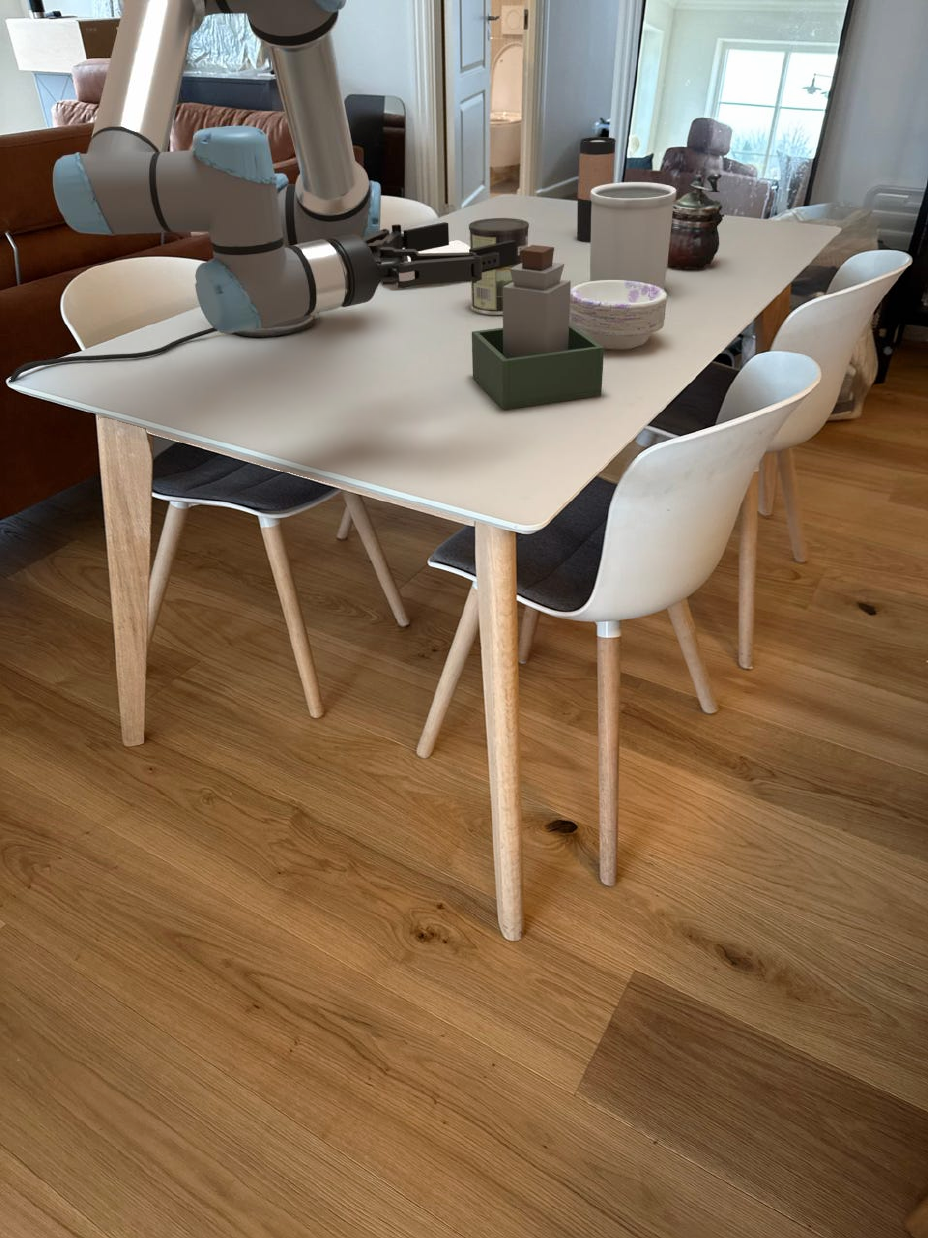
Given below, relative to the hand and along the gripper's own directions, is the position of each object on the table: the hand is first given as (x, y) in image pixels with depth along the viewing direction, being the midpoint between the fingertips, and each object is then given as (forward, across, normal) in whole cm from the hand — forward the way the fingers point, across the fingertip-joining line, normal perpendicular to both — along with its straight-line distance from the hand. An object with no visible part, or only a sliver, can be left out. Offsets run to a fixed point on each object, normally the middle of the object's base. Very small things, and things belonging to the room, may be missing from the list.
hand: (479, 242), depth 113 cm
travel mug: (+80, -60, -22) cm, 102 cm away
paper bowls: (+32, -6, -21) cm, 39 cm away
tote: (+10, 0, -21) cm, 23 cm away
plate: (+36, -64, -22) cm, 76 cm away
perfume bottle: (+10, 0, -20) cm, 23 cm away
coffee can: (+30, -34, -22) cm, 50 cm away
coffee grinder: (+76, -29, -22) cm, 85 cm away
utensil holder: (+54, -25, -22) cm, 63 cm away
